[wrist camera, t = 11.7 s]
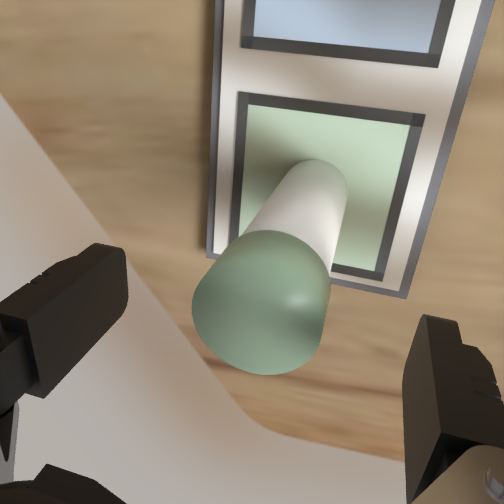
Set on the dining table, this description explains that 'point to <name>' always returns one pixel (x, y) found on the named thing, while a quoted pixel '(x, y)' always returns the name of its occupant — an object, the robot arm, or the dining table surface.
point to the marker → (276, 276)
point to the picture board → (341, 117)
